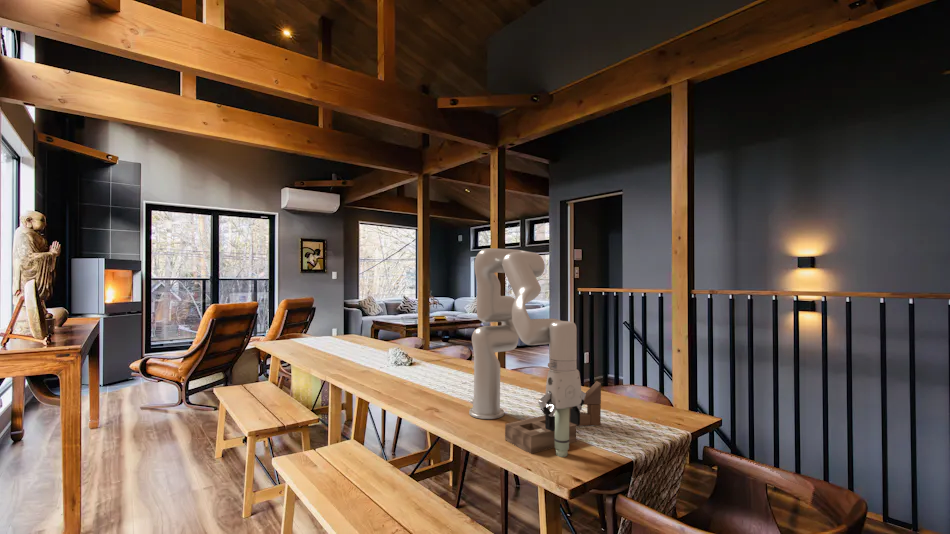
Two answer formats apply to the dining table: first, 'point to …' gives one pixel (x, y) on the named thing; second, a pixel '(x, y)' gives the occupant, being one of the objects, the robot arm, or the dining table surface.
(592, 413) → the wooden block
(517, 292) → the robot arm
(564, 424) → the peg
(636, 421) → the dining table surface
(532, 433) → the board
